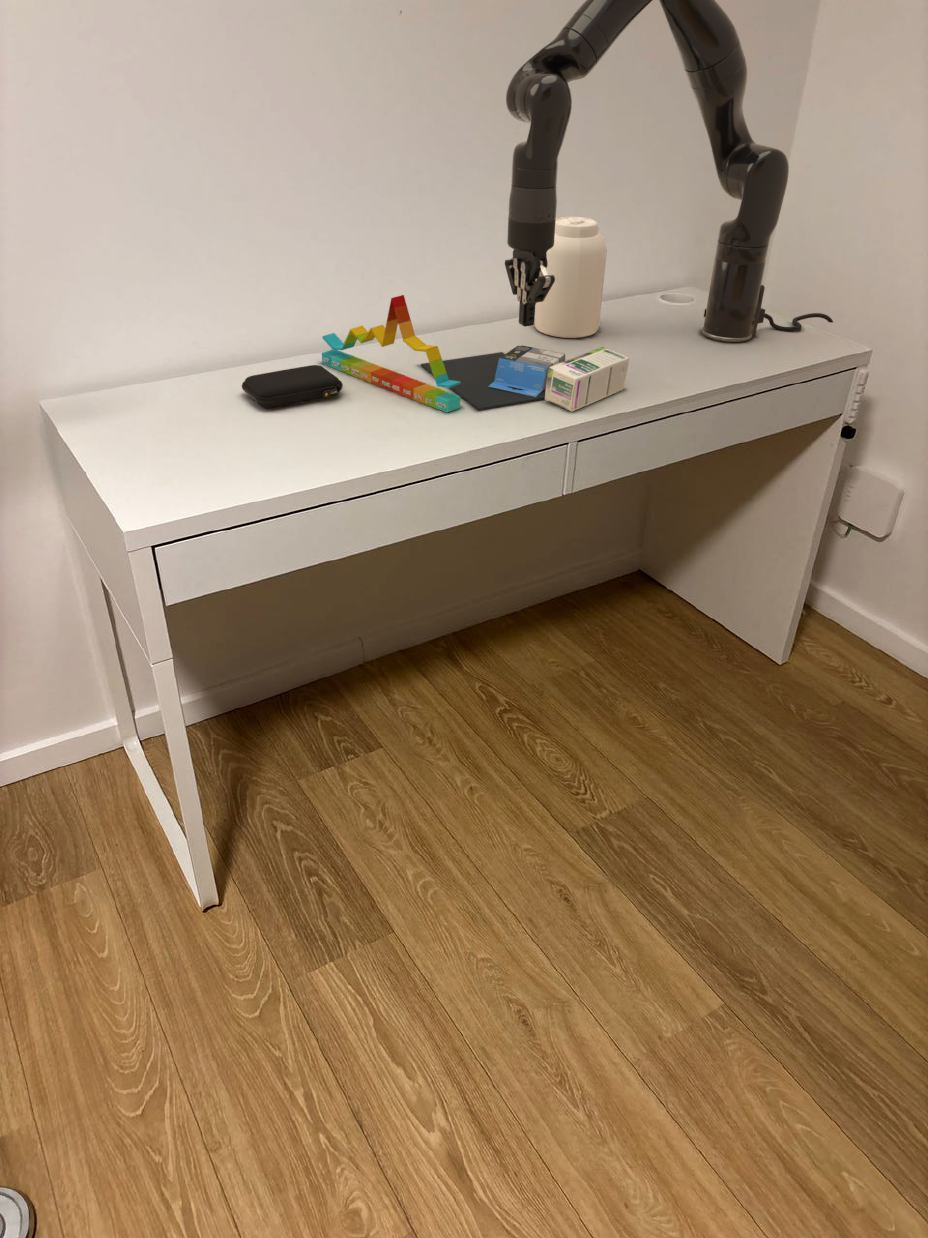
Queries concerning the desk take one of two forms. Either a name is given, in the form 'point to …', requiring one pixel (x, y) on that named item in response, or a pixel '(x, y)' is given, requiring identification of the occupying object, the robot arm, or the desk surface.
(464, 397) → the mat
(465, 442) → the desk surface
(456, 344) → the desk surface
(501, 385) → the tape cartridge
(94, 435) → the desk surface
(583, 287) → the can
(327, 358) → the chart
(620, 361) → the syrup box
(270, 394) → the carrying case
